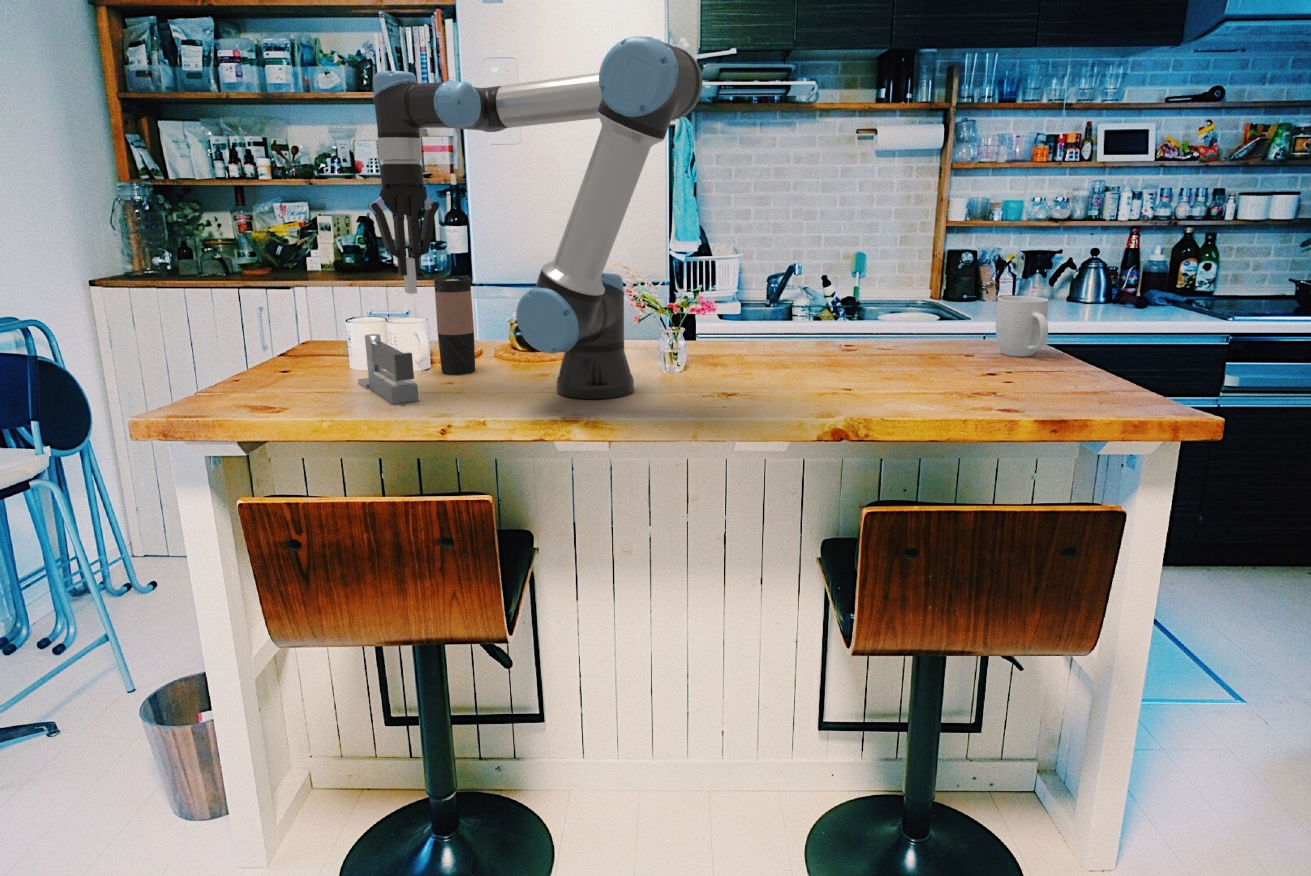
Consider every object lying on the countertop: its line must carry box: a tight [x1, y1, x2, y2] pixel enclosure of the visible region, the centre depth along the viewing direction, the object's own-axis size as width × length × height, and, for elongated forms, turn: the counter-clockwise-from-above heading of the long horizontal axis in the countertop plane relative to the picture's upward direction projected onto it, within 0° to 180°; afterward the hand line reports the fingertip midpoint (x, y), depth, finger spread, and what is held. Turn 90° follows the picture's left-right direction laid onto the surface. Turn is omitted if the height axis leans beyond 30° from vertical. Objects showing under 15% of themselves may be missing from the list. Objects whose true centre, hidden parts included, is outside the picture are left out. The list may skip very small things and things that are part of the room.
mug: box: [995, 295, 1050, 358], centre depth 205 cm, size 15×11×13 cm
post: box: [357, 333, 385, 389], centre depth 180 cm, size 6×6×10 cm
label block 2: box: [380, 377, 420, 405], centre depth 169 cm, size 8×5×4 cm, turn 32°
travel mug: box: [433, 276, 476, 376], centre depth 190 cm, size 8×8×20 cm
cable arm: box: [371, 341, 415, 381], centre depth 171 cm, size 18×3×5 cm, turn 32°
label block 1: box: [368, 370, 395, 398], centre depth 175 cm, size 8×5×4 cm, turn 32°
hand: (411, 292), depth 169 cm, fingers closed
